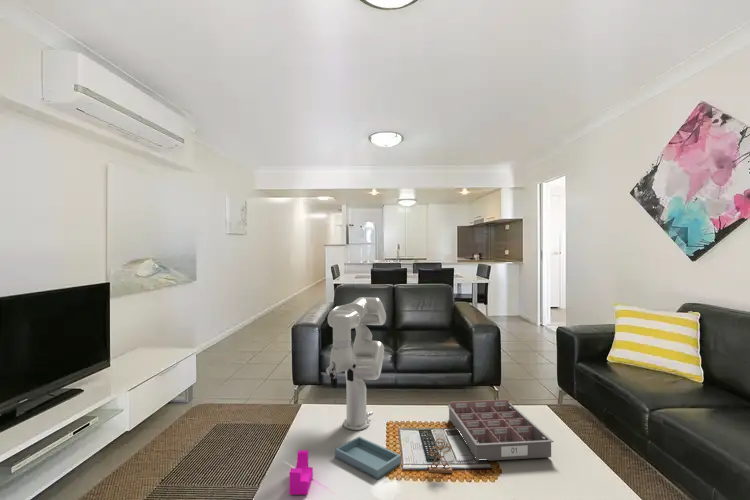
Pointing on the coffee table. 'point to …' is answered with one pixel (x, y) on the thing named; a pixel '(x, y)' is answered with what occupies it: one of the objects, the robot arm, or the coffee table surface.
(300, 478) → the toy block
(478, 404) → the organizer tray
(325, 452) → the coffee table surface
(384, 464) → the slate tray
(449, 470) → the wooden figure on stand
